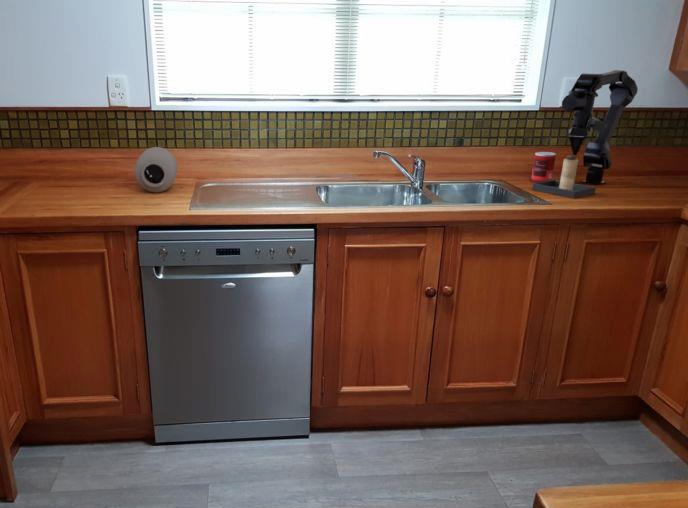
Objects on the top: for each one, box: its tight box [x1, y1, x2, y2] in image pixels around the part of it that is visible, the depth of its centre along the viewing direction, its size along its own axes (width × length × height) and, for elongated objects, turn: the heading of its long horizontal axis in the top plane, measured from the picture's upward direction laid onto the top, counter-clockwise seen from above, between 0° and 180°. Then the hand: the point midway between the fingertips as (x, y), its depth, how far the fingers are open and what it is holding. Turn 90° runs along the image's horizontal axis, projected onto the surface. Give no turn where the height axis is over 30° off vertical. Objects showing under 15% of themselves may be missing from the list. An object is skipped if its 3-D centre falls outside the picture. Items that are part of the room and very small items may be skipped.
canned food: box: [531, 151, 557, 183], centre depth 243 cm, size 8×8×11 cm
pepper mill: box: [559, 155, 579, 191], centre depth 221 cm, size 5×5×13 cm
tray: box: [531, 179, 597, 199], centre depth 226 cm, size 13×17×2 cm
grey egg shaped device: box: [133, 146, 178, 194], centre depth 222 cm, size 19×15×25 cm
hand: (576, 153), depth 228 cm, fingers open, 9 cm apart
